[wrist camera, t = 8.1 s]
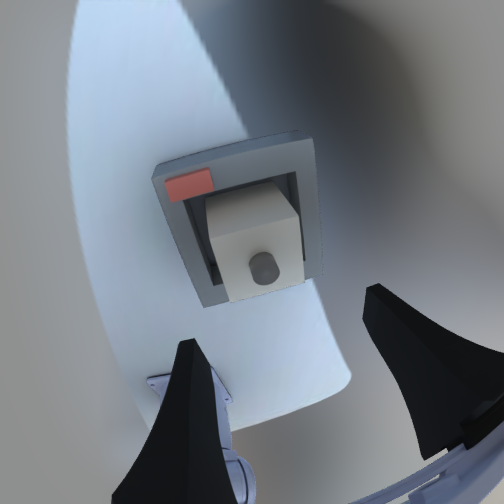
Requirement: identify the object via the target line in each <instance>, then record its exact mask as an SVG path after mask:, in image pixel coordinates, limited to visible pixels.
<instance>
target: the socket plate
mask: <svg viewBox="0 0 504 504" xmlns="http://www.w3.org/2000/svg"><path fill="white" fill-rule="evenodd" d="M151 179H152V182H153V185H154V188H155V191H156V193H157V196H158V199H159V201H160V204H161V207H162V209H163V212H164V215H165V217H166V220H167V223H168V225H169V228H170V230H171V233H172V235H173V238H174V240H175V243H176V245H177V248H178V250H179V253H180V255H181V257H182V260H183V262H184V265H185V267H186V269H187V272H188V274H189V276H190V279H191V281H192V283H193V286H194V288H195V290H196V292H197V295H198V297H199V299H200V301H201V304H202V306H203V308H206V307H209V306H213V305H217V304H221V303H225V302H229V298H228V295H227V292H226V289H225V286H224V283H223V280H222V277H221V274H220V270H219V267H218V264H217V261H216V258H215V255H214V252H213V249H212V246H211V242H210V239H209V232H208V224H207V215H206V207H205V198H207V197H211V196H215V195H218V194H222V193H226V192H230V191H234V190H238V189H242V188H246V187H250V186H254V185H258V184H263V183H267V182H271V181H273V182H274V183H275V184H276V186H277V187H278V188H279V190H280V191H281V192H282V194H283V195H284V196H285V198H286V199H287V201H288V202H289V203H290V205H291V206H292V207H293V209H294V210H295V211H296V213H297V214H298V216H299V223H300V233H301V243H302V254H303V266H304V278H305V280H306V279H310V278H313V277H316V276H320V275H323V254H322V235H321V219H320V205H319V193H318V183H317V172H316V162H315V152H314V144H313V138H311V137H310V136H308V135H306V134H304V133H302V132H300V131H298V130H296V131H290V132H285V133H279V134H274V135H269V136H265V137H260V138H256V139H251V140H246V141H242V142H238V143H234V144H230V145H226V146H222V147H218V148H214V149H210V150H207V151H203V152H199V153H196V154H192V155H189V156H185V157H182V158H179V159H176V160H172V161H169V162H166V163H163V164H160V165H157V166H156V168H155V171H154V173H153V176H152V178H151Z"/></svg>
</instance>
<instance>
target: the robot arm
mask: <svg viewBox="0 0 504 504" xmlns="http://www.w3.org/2000/svg"><path fill="white" fill-rule="evenodd" d="M362 319H363V322H364V324H365V326H366V328H367V330H368V333H369V335H370V337H371V339H372V341H373V342H374V344H375V346H376V347H377V349H378V351H379V352H380V354H381V356H382V357H383V359H384V361H385V362H386V364H387V366H388V367H389V369H390V371H391V372H392V374H393V376H394V378H395V379H396V381H397V383H398V385H399V388H400V390H401V392H402V395H403V397H404V400H405V402H406V405H407V408H408V410H409V413H410V416H411V419H412V422H413V425H414V428H415V432H416V435H417V439H418V443H419V448H420V452H421V455H422V458H423V459H424V460H427V459H428V458H430V457H432V456H434V455H435V454H437V453H439V452H440V451H442V450H443V449H445V448H447V450H448V453H447V454H445V455H444V456H442V457H441V458H439V459H437V460H436V461H434V462H433V463H431V464H429V465H428V466H426V467H424V468H423V469H421V470H419V471H417V472H416V473H414V474H412V475H410V476H409V477H407V478H405V479H403V480H401V481H399V482H397V483H395V484H393V485H391V486H389V487H387V488H385V489H382V490H380V491H378V492H376V493H374V494H371V495H369V496H367V497H364V498H362V499H359V500H357V501H354V502H352V503H349V504H385V503H387V502H390V501H392V500H393V499H396V498H398V497H400V496H402V495H404V494H405V493H407V492H409V491H411V490H413V489H414V488H416V487H418V486H420V485H422V484H423V483H425V482H427V481H429V480H430V479H432V478H433V477H435V476H436V475H438V474H440V476H439V478H437V479H434V480H432V481H430V482H428V483H426V484H424V485H423V486H421V487H419V488H418V489H416V490H415V491H413V492H412V493H410V494H409V495H408V497H409V500H408V501H405V502H403V503H401V504H479V503H480V502H481V501H482V500H483V499H484V498H485V497H486V496H487V495H488V494H489V493H490V492H491V491H492V490H493V489H494V488H495V487H496V486H497V484H499V482H500V481H501V480H502V479H503V478H504V353H502V352H498V351H495V350H492V349H489V348H486V347H484V346H481V345H478V344H476V343H474V342H471V341H469V340H467V339H464V338H462V337H460V336H458V335H456V334H455V333H453V332H450V331H449V330H447V329H445V328H444V327H442V326H440V325H438V324H437V323H435V322H434V321H432V320H431V319H429V318H427V317H426V316H424V315H423V314H421V313H420V312H419V311H417V310H416V309H414V308H413V307H411V306H410V305H408V304H407V303H406V302H404V301H403V300H402V299H400V298H399V297H397V296H396V295H395V294H393V293H392V292H391V291H389V290H388V289H386V288H385V287H383V286H382V285H381V284H379V283H378V284H375V285H373V286H370V287H367V288H366V296H365V304H364V312H363V318H362ZM146 383H147V384H148V385H149V386H150V387H151V388H152V389H153V390H154V391H155V392H156V393H157V394H158V395H159V396H160V410H159V413H158V415H157V418H156V420H155V423H154V425H153V427H152V430H151V432H150V434H149V436H148V438H147V440H146V442H145V444H144V446H143V448H142V450H141V452H140V454H139V456H138V457H137V459H136V461H135V462H134V464H133V466H132V467H131V469H130V471H129V472H128V474H127V475H126V477H125V478H124V479H123V481H122V482H121V483H120V485H119V486H118V488H117V489H116V490H115V492H114V493H113V494H112V501H111V504H255V497H256V480H255V476H254V473H253V470H252V468H251V466H250V464H249V463H248V462H247V461H245V459H244V458H242V457H237V453H236V450H231V447H232V436H231V431H230V425H229V420H228V414H227V409H226V404H229V403H232V402H233V400H232V398H231V396H230V395H229V393H228V392H227V390H226V389H225V387H224V385H223V384H222V382H221V381H220V379H219V378H218V376H217V374H216V373H215V371H214V369H213V368H211V367H210V364H209V362H208V360H207V359H206V357H205V355H204V354H203V352H202V350H201V349H200V347H199V345H198V343H197V342H196V340H195V338H193V339H188V340H184V341H180V342H179V344H178V348H177V353H176V357H175V361H174V365H173V369H172V372H171V375H166V376H160V377H154V378H148V379H147V380H146Z"/></svg>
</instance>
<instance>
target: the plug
mask: <svg viewBox="0 0 504 504" xmlns="http://www.w3.org/2000/svg"><path fill="white" fill-rule="evenodd" d="M205 207H206V215H207V224H208V232H209V239H210V242H211V246H212V249H213V252H214V255H215V258H216V261H217V264H218V267H219V270H220V274H221V277H222V280H223V283H224V286H225V289H226V292H227V295H228V298H229V301H230V303H232V302H236V301H240V300H244V299H247V298H251V297H255V296H259V295H262V294H266V293H270V292H273V291H277V290H280V289H284V288H287V287H291V286H294V285H298V284H301V283H305V278H304V266H303V254H302V243H301V233H300V223H299V216H298V214H297V213H296V211H295V210H294V209H293V207H292V206H291V205H290V203H289V202H288V201H287V199H286V198H285V196H284V195H283V194H282V192H281V191H280V190H279V188H278V187H277V186H276V184H275V183H274V182H273V181H271V182H267V183H263V184H258V185H254V186H250V187H246V188H242V189H238V190H234V191H230V192H226V193H222V194H218V195H215V196H211V197H207V198H205Z"/></svg>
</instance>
